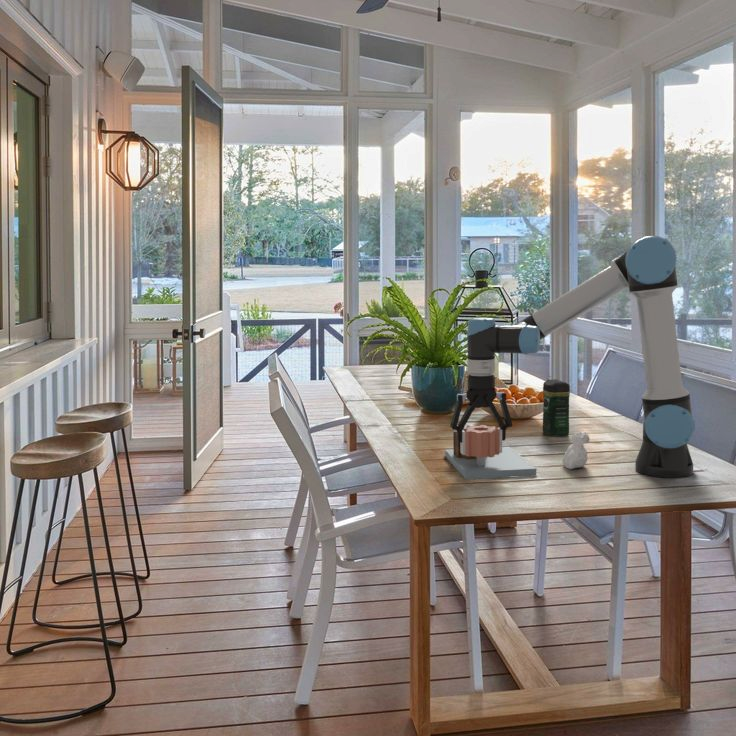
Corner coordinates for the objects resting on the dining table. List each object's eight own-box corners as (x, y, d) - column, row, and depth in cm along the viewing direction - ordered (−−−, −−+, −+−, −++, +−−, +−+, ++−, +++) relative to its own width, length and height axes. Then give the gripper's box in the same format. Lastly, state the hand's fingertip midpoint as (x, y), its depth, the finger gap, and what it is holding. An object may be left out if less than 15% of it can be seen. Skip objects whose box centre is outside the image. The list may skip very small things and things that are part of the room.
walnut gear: (491, 458, 230) (491, 434, 229) (458, 460, 229) (458, 436, 228) (482, 450, 239) (482, 427, 238) (450, 451, 238) (450, 429, 237)
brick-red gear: (493, 448, 227) (493, 424, 226) (503, 456, 218) (503, 431, 217) (460, 450, 226) (460, 426, 225) (468, 458, 216) (468, 433, 215)
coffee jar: (572, 436, 264) (573, 381, 261) (549, 437, 263) (550, 382, 260) (561, 430, 273) (562, 377, 271) (539, 431, 272) (539, 378, 270)
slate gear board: (536, 475, 218) (536, 436, 217) (465, 479, 216) (465, 439, 214) (508, 452, 244) (508, 417, 242) (445, 456, 242) (444, 420, 240)
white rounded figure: (577, 479, 221) (603, 449, 219) (555, 463, 222) (581, 432, 219) (574, 468, 233) (599, 439, 230) (553, 452, 233) (578, 423, 231)
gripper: (444, 377, 214) (444, 457, 217) (524, 374, 216) (524, 453, 219) (438, 373, 221) (439, 451, 224) (516, 370, 224) (516, 447, 227)
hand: (481, 452), depth 222 cm, fingers closed on brick-red gear, 10 cm apart
